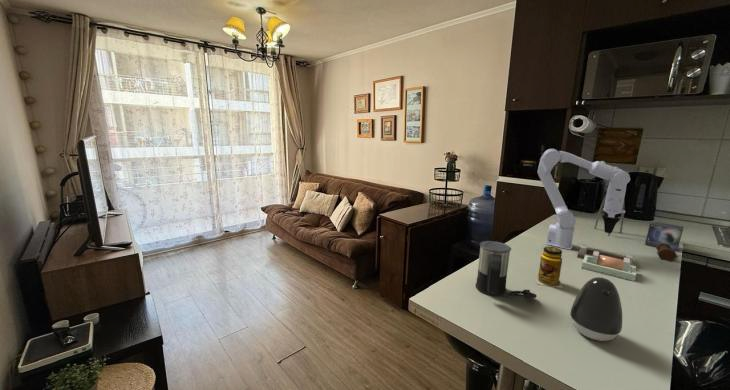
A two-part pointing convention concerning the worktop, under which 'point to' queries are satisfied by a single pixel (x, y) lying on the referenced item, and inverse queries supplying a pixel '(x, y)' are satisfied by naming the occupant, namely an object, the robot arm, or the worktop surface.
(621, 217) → the juicer
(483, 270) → the milk frother
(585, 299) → the dark grey egg dome
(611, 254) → the frame
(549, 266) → the condiment
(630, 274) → the parts tray
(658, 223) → the picture frame
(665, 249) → the brown elongated lump
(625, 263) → the fuse
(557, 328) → the worktop surface
